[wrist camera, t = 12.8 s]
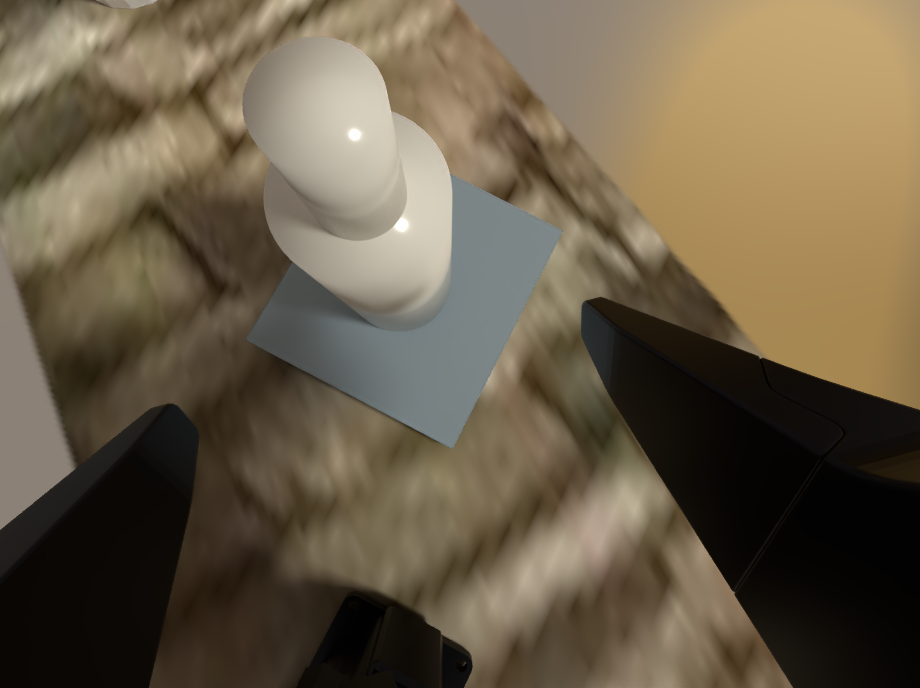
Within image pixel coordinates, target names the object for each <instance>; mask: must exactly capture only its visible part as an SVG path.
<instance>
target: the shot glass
mask: <svg viewBox="0 0 920 688" xmlns="http://www.w3.org/2000/svg"><path fill="white" fill-rule="evenodd" d="M96 1H98V2H100V3H102V4H105V5H107V6H109V7H111V8H124V9H134V8H138V7H141V6H145V5H148V4H152V3H154V2H155V1H156V0H96Z"/></svg>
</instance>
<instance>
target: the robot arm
mask: <svg viewBox="0 0 920 688" xmlns="http://www.w3.org/2000/svg"><path fill="white" fill-rule="evenodd" d="M581 335H582V339H583V341H584V344H585V346H586V348H587V350H588V352H589V354H590V356H591V358H592V361H593V363H594V365H595V367H596V369H597V371H598V373H599V375H600V378H601V380H602V382H603V384H604V386H605V388H606V390H607V392H608V394H609V396H610V397H611V399H612V401H613V403H614V404H615V406H616V407H617V409H618V411H619V412H620V414H621V415H622V417H623V418H624V420H625V422H626V423H627V425H628V426H629V428H630V430H631V431H632V433H633V434H634V436H635V437H636V439H637V441H638V442H639V444H640V445H641V447H642V449H643V450H644V452H645V453H646V455H647V456H648V458H649V460H650V461H651V463H652V464H653V466H654V468H655V469H656V471H657V472H658V474H659V476H660V477H661V479H662V480H663V482H664V483H665V485H666V487H667V488H668V490H669V491H670V493H671V495H672V496H673V498H674V499H675V501H676V502H677V504H678V506H679V507H680V509H681V510H682V512H683V514H684V515H685V517H686V518H687V520H688V521H689V523H690V525H691V526H692V528H693V529H694V531H695V533H696V534H697V536H698V537H699V539H700V541H701V542H702V544H703V545H704V547H705V548H706V550H707V552H708V553H709V555H710V556H711V558H712V560H713V561H714V563H715V564H716V566H717V567H718V569H719V571H720V572H721V574H722V575H723V577H724V579H725V580H726V582H727V583H728V585H729V586H730V588H731V590H732V591H733V592H735V593H734V595H735V597H736V598H737V600H738V601H739V603H740V604H741V606H742V608H743V609H744V611H745V612H746V614H747V616H748V617H749V619H750V620H751V622H752V623H753V625H754V627H755V628H756V630H757V631H758V633H759V635H760V636H761V638H762V639H763V641H764V642H765V644H766V646H767V647H768V649H769V650H770V652H771V654H772V655H773V657H774V658H775V660H776V662H777V663H778V665H779V666H780V668H781V669H782V671H783V673H784V674H785V676H786V677H787V679H788V681H789V682H790V684H791V685H792V687H793V688H920V410H918V409H915V408H912V407H909V406H906V405H902V404H899V403H896V402H893V401H890V400H886V399H883V398H880V397H877V396H873V395H870V394H867V393H864V392H861V391H857V390H854V389H851V388H848V387H845V386H842V385H839V384H836V383H833V382H829V381H827V380H823V379H820V378H817V377H815V376H812V375H809V374H806V373H803V372H801V371H798V370H795V369H792V368H789V367H787V366H784V365H781V364H778V363H776V362H773V361H771V360H768V359H765V358H761V359H760V358H759V356H757V355H754V354H752V353H749V352H747V351H744V350H741V349H739V348H736V347H733V346H731V345H728V344H725V343H723V342H720V341H717V340H715V339H712V338H709V337H707V336H704V335H701V334H699V333H696V332H693V331H691V330H688V329H685V328H683V327H680V326H678V325H675V324H672V323H670V322H667V321H664V320H662V319H659V318H656V317H654V316H651V315H648V314H646V313H643V312H640V311H638V310H635V309H632V308H630V307H627V306H624V305H622V304H619V303H616V302H614V301H611V300H608V299H606V298H603V297H598V298H594V299H590V300H586V301H584V302H583V304H582V312H581ZM198 445H199V432H198V429H197V427H196V426H195V425H194V424H193V423H192V421H191V420H190V419H189V418H188V417H187V416H186V415H185V414H184V412H183V411H182V410H181V409H180V408H179V407H178V406H177V405H175V404H165V405H161V406H157V407H153V408H151V409H149V410H148V411H147V412H145V413H144V414H143V415H142V416H140V417H139V418H138V419H137V420H136V421H134V422H133V423H132V424H131V425H129V426H128V427H127V428H126V429H124V430H123V431H122V432H121V433H119V434H118V435H117V436H116V437H115V438H113V439H112V440H111V441H110V442H108V443H107V444H106V445H105V446H103V447H102V448H101V449H100V450H98V451H97V452H96V453H95V454H94V455H92V456H91V457H90V458H89V459H87V460H86V461H85V462H84V463H82V464H81V465H80V466H79V467H77V468H76V469H75V470H74V471H73V472H71V473H70V474H69V475H68V476H67V477H65V478H64V479H63V480H61V481H60V482H59V483H58V484H57V485H55V486H54V487H53V488H52V489H50V490H49V491H48V492H47V493H45V494H44V495H43V496H42V497H40V498H39V499H38V500H37V501H35V502H34V503H33V504H32V505H31V506H29V507H28V508H27V509H26V510H24V511H23V512H22V513H21V514H19V515H18V516H17V517H16V518H14V519H13V520H12V521H11V522H10V523H8V524H7V525H6V526H5V527H3V528H2V529H1V530H0V688H149V685H150V680H151V676H152V672H153V667H154V663H155V659H156V655H157V650H158V646H159V642H160V637H161V633H162V629H163V624H164V620H165V616H166V612H167V607H168V603H169V599H170V594H171V590H172V586H173V581H174V577H175V573H176V569H177V564H178V560H179V556H180V551H181V547H182V543H183V538H184V534H185V530H186V526H187V521H188V517H189V512H190V508H191V503H192V496H193V488H194V480H195V471H196V462H197V454H198ZM352 601H355V602H356V603H357V604H358V606H359V607H358V608H356V609H353V608H351V607H350V605H349V602H352ZM459 660H464V661H465V662H466V664H465V665H464V666H462V667H461V666H458V665H457V664H456V663H457V662H458V661H459ZM472 667H473V666H472V657H471V655H470V653H469V652H468V651H467V650H466V649H464V648H462V647H460V646H458V645H456V644H455V643H453V642H451V641H449V640H447V639H445V638H444V637H442V635H441V632H440V631H439V630H438V629H436V628H434V627H432V626H430V625H429V624H427V623H425V622H423V621H421V620H419V619H417V618H416V617H414V616H412V615H410V614H408V613H406V612H405V611H403V610H401V609H399V608H397V607H395V606H391V607H386V606H384V605H383V604H381V603H379V602H377V601H375V600H373V599H371V598H370V597H368V596H366V595H364V594H362V593H360V592H357V591H354V592H351V593H349V594H348V595H347V596H346V597H345V599H344V601H343V603H342V605H341V607H340V609H339V611H338V612H337V614H336V616H335V618H334V620H333V622H332V624H331V626H330V628H329V630H328V632H327V634H326V636H325V638H324V640H323V641H322V643H321V645H320V647H319V649H318V651H317V653H316V655H315V657H314V659H313V661H312V663H311V665H310V667H308V668H306V669H305V670H304V672H303V674H302V675H301V677H300V679H299V680H298V682H297V683H296V685H295V687H294V688H464V686H465V684H466V682H467V680H468V678H469V676H470V673H471V671H472Z"/></svg>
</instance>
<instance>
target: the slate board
mask: <svg viewBox="0 0 920 688" xmlns="http://www.w3.org/2000/svg"><path fill="white" fill-rule="evenodd" d="M450 177H451V183H452V251H451V288H450V293H449V296H448V299H447V301H446V304H445V306H444V307H443V309H442V310H441V311H440V313H439V314H438V315H437V316H436V317H435V318H434V319H433V320H432V321H430V322H429V323H427V324H426V325H424V326H422V327H420V328H417V329H414V330H410V331H403V332H393V331H387V330H384V329H381V328H378V327H376V326H374V325H372V324H371V323H369V322H368V321H366V320H365V319H364V318H363V317H361V316H360V315H359V314H358V313H356V312H355V311H354V310H353V309H351V308H350V307H349V306H348V305H346V304H345V303H344V302H343V301H341V300H340V299H339V298H338V297H336V296H335V295H334V294H333V293H331V292H330V291H329V290H328V289H326V288H325V287H324V286H322V285H321V284H320V283H319V282H317V281H316V280H315V279H314V278H312V277H311V276H310V275H309V274H307V273H306V272H305V271H304V270H302V269H301V268H300V267H299V266H297V265H296V264H295V263H294V262H292V263H291V265H290V267H289V268H288V270H287V272H286V273H285V275H284V277H283V279H282V280H281V282H280V284H279V285H278V287H277V289H276V290H275V292H274V294H273V295H272V297H271V299H270V300H269V302H268V304H267V305H266V307H265V309H264V310H263V312H262V314H261V315H260V317H259V319H258V320H257V322H256V324H255V325H254V327H253V329H252V330H251V332H250V334H249V335H248V337H247V339H246V341H248V342H250V343H252V344H254V345H256V346H258V347H260V348H262V349H263V350H265V351H267V352H269V353H271V354H273V355H275V356H277V357H279V358H281V359H282V360H284V361H286V362H288V363H290V364H292V365H294V366H296V367H298V368H300V369H301V370H303V371H305V372H307V373H309V374H311V375H313V376H315V377H317V378H319V379H320V380H322V381H324V382H326V383H328V384H330V385H332V386H334V387H336V388H338V389H339V390H341V391H343V392H345V393H347V394H349V395H351V396H353V397H355V398H357V399H358V400H360V401H362V402H364V403H366V404H368V405H370V406H372V407H374V408H376V409H377V410H379V411H381V412H383V413H385V414H387V415H389V416H391V417H393V418H395V419H396V420H398V421H400V422H402V423H404V424H406V425H408V426H410V427H412V428H414V429H415V430H417V431H419V432H421V433H423V434H425V435H427V436H429V437H431V438H433V439H434V440H436V441H438V442H440V443H442V444H444V445H446V446H448V447H450V448H452V449H453V447H454V445H455V443H456V441H457V439H458V437H459V435H460V433H461V431H462V429H463V427H464V425H465V423H466V421H467V419H468V417H469V415H470V413H471V411H472V409H473V407H474V405H475V403H476V401H477V400H478V398H479V396H480V394H481V392H482V390H483V388H484V386H485V384H486V382H487V380H488V378H489V376H490V374H491V372H492V370H493V368H494V366H495V364H496V362H497V360H498V358H499V356H500V354H501V352H502V350H503V348H504V346H505V344H506V342H507V340H508V338H509V336H510V334H511V332H512V330H513V328H514V326H515V325H516V323H517V321H518V319H519V317H520V315H521V313H522V311H523V309H524V307H525V305H526V303H527V301H528V299H529V297H530V295H531V293H532V291H533V289H534V287H535V285H536V283H537V281H538V279H539V277H540V275H541V273H542V271H543V269H544V267H545V265H546V263H547V261H548V259H549V257H550V255H551V253H552V251H553V249H554V248H555V246H556V244H557V242H558V240H559V238H560V236H561V234H562V232H563V230H561V229H559V228H557V227H555V226H553V225H551V224H549V223H547V222H545V221H543V220H541V219H539V218H537V217H535V216H533V215H531V214H529V213H527V212H525V211H523V210H521V209H519V208H517V207H515V206H513V205H511V204H509V203H507V202H505V201H503V200H501V199H499V198H497V197H495V196H493V195H491V194H489V193H487V192H486V191H484V190H482V189H480V188H478V187H476V186H474V185H472V184H470V183H468V182H466V181H464V180H462V179H460V178H458V177H456V176H454V175H452V174H450Z"/></svg>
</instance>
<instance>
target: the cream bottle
mask: <svg viewBox="0 0 920 688" xmlns="http://www.w3.org/2000/svg"><path fill="white" fill-rule="evenodd" d="M242 104H243V115H244V121H245V124H246V126H247V129H248V131H249V133H250V135H251V137H252V139H253V140H254V141H255V143H256V144H257V146H258V147H259V148H260V149H261V151H262V152H263V153H264V154H265V156H266V157H267V158H268V159H269V161H270V165H269V168H268V170H267V173H266V178H265V182H264V192H263V201H264V211H265V216H266V220H267V223H268V226H269V229H270V231H271V233H272V235H273V237H274V239H275V241H276V242H277V244H278V245H279V247H280V248H281V250H282V251H283V252H284V253H285V254H286V255H287V256H288V258H289V259H290V260H291V261H293V262H294V263H295V264H296V265H297V266H299V267H300V268H301V269H302V270H304V271H305V272H306V273H307V274H309V275H310V276H311V277H312V278H314V279H315V280H316V281H317V282H319V283H320V284H321V285H322V286H324V287H325V288H326V289H328V290H329V291H330V292H331V293H333V294H334V295H335V296H336V297H338V298H339V299H340V300H341V301H343V302H344V303H345V304H346V305H348V306H349V307H350V308H351V309H353V310H354V311H355V312H356V313H358V314H359V315H360V316H361V317H363V318H364V319H365V320H366V321H368V322H369V323H371V324H372V325H374V326H376V327H378V328H381V329H384V330H387V331H393V332H403V331H410V330H414V329H417V328H420V327H422V326H424V325H426V324H427V323H429V322H430V321H432V320H433V319H434V318H435V317H436V316H437V315H438V314H439V313H440V311H441V310H442V309H443V307H444V306H445V304H446V301H447V299H448V296H449V293H450V288H451V251H452V183H451V177H450V173H449V169H448V166H447V164H446V161H445V159H444V157H443V155H442V153H441V151H440V149H439V148H438V146H437V145H436V144H435V142H434V141H433V140H432V138H431V137H430V136H429V135H428V134H427V133H426V132H425V131H424V130H423V129H422V128H420V127H419V126H418V125H416V124H415V123H414V122H412V121H411V120H409V119H407V118H406V117H404V116H402V115H399V114H397V113H395V112H392V111H391V109H390V104H389V100H388V95H387V90H386V86H385V83H384V80H383V78H382V75H381V74H380V72H379V70H378V68H377V67H376V66H375V64H374V63H373V61H372V60H371V59H370V58H369V57H368V56H367V55H366V54H364V53H363V52H362V51H360V50H359V49H358V48H356V47H354V46H353V45H351V44H348V43H346V42H344V41H341V40H338V39H334V38H329V37H317V36H314V37H304V38H299V39H295V40H292V41H289V42H286V43H284V44H282V45H280V46H278V47H276V48H275V49H273V50H272V51H270V52H269V53H268V54H267V55H265V56H264V57H263V58H262V59H261V60H260V61H259V62H258V64H257V65H256V66H255V68H254V69H253V71H252V72H251V74H250V76H249V78H248V80H247V83H246V86H245V89H244V94H243V103H242Z"/></svg>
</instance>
